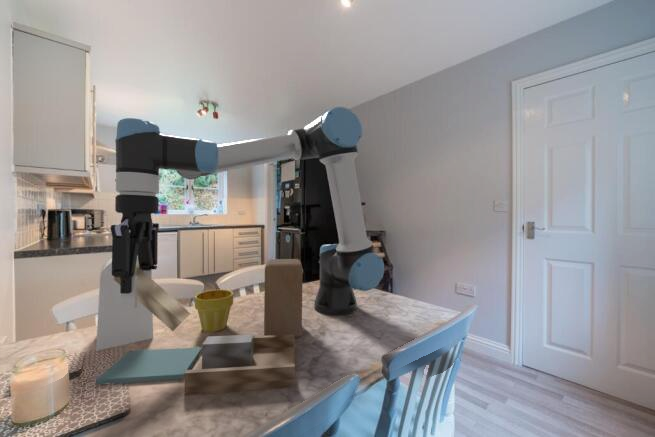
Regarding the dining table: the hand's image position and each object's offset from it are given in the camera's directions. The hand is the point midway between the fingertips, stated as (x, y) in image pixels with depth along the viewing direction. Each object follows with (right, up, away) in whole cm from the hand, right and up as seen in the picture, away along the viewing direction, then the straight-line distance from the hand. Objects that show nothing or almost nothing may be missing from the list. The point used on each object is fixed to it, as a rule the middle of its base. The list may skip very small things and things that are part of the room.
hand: (136, 303), depth 57 cm
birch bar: (+3, 0, 0) cm, 3 cm away
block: (+28, -14, +19) cm, 37 cm away
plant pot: (+8, -14, +21) cm, 26 cm away
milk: (-14, -14, +15) cm, 25 cm away
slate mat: (+3, -14, +1) cm, 14 cm away
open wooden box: (+24, -14, 0) cm, 28 cm away
